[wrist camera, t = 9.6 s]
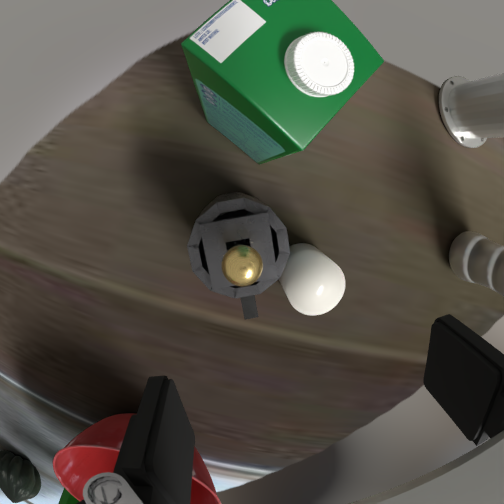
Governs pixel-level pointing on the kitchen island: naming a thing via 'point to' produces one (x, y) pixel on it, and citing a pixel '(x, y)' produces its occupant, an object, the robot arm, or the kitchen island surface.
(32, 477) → the squash
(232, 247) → the plunger
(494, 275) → the plastic bottle
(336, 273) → the white egg shape
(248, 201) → the carafe
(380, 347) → the kitchen island surface
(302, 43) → the milk carton
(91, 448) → the mixing bowl
